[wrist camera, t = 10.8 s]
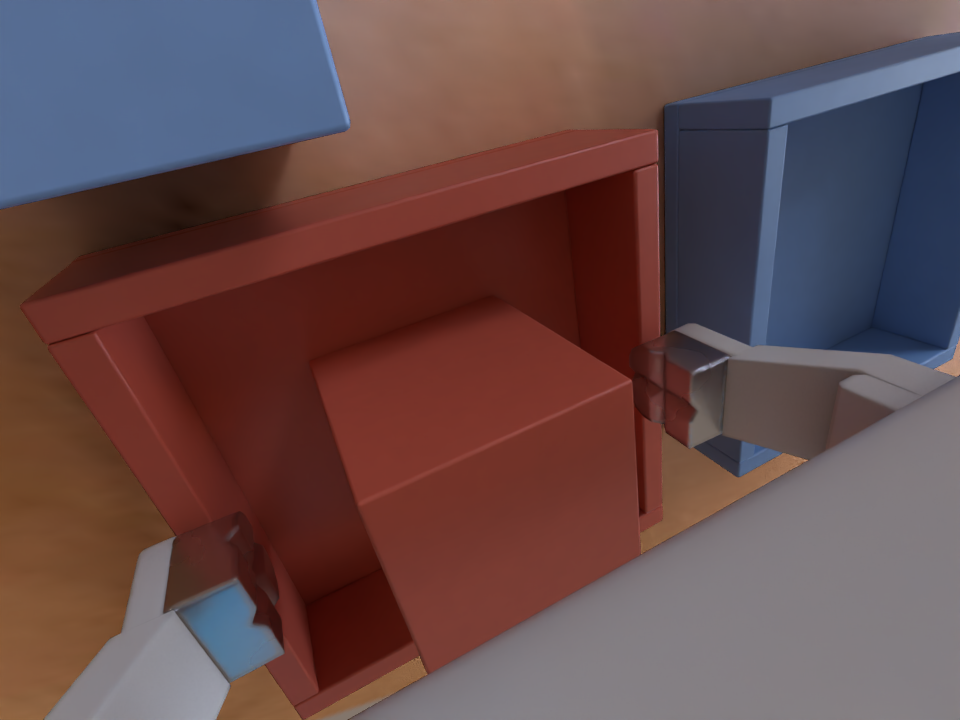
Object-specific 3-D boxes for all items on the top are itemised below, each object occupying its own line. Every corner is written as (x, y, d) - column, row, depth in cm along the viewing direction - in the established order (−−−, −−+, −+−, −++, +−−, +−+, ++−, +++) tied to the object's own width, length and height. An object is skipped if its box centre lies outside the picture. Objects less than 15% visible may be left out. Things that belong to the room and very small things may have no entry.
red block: (307, 360, 11) (354, 505, 7) (494, 293, 12) (634, 379, 8) (369, 510, 13) (434, 692, 9) (521, 441, 14) (643, 569, 10)
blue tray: (663, 104, 12) (770, 97, 10) (926, 36, 15) (1061, 17, 13) (665, 429, 17) (738, 479, 15) (864, 331, 20) (953, 359, 18)
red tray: (76, 256, 9) (14, 305, 6) (568, 129, 12) (659, 128, 9) (289, 614, 14) (302, 722, 11) (598, 462, 17) (663, 520, 14)
